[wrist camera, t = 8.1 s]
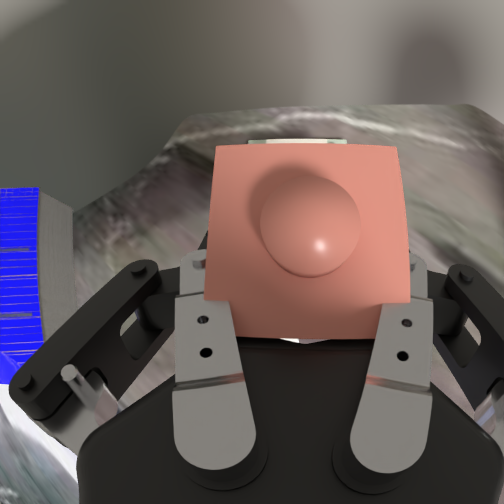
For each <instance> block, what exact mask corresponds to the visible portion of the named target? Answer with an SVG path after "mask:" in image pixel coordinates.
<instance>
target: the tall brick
mask: <svg viewBox="0 0 504 504" xmlns="http://www.w3.org/2000/svg"><path fill="white" fill-rule="evenodd" d="M204 300H215V301H229V305H230V310H231V315H232V320H233V326H234V331H235V336H240V337H259V338H286V339H374V338H375V333H376V329H377V325H378V321H379V317H380V313H381V308H382V304H383V303H410V263H409V245H408V232H407V221H406V211H405V202H404V194H403V186H402V179H401V172H400V166H399V160H398V154H397V148H396V147H391V146H377V145H359V144H333V143H268V144H241V145H223V146H216V152H215V161H214V171H213V181H212V192H211V203H210V214H209V226H208V239H207V253H206V267H205V283H204Z"/></svg>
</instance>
